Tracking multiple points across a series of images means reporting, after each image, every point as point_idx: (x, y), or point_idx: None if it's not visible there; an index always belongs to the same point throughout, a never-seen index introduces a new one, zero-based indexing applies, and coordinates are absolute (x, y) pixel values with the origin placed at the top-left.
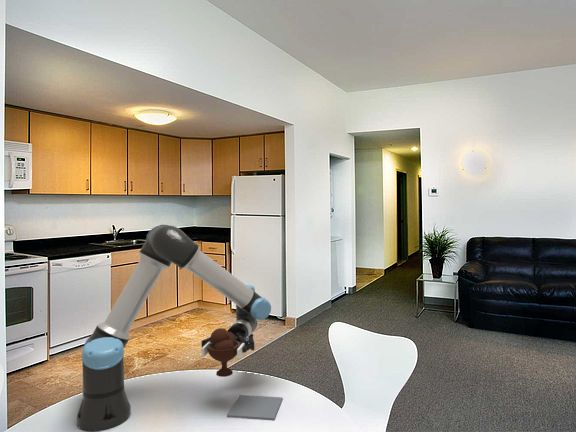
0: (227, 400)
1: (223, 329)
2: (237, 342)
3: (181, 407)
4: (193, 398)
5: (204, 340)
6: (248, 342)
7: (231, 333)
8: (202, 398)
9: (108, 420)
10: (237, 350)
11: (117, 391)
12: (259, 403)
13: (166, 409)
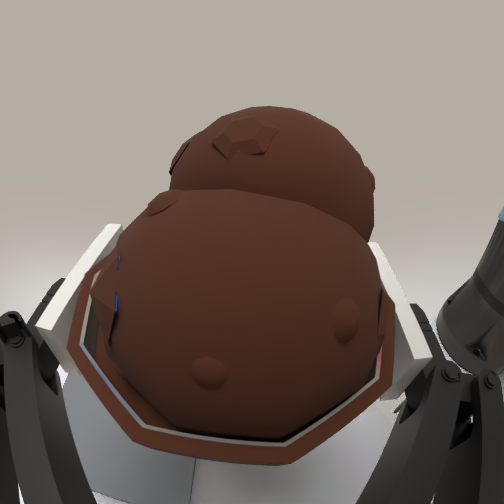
0: (231, 488)
1: (234, 112)
2: (93, 361)
3: (371, 420)
4: (367, 480)
5: (488, 391)
6: (5, 331)
7: (136, 231)
8: (335, 489)
9: (446, 300)
10: (119, 228)
11: (478, 281)
12: (105, 442)
13: (402, 400)
